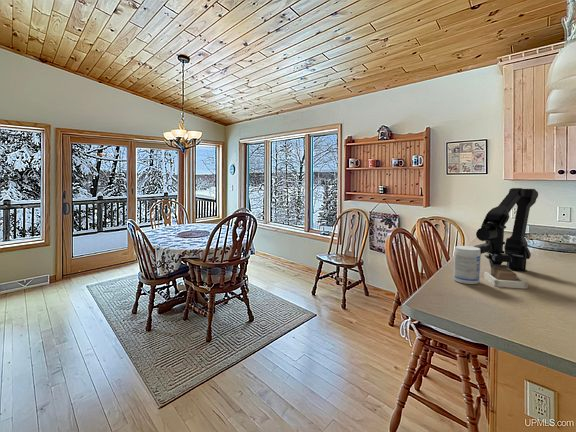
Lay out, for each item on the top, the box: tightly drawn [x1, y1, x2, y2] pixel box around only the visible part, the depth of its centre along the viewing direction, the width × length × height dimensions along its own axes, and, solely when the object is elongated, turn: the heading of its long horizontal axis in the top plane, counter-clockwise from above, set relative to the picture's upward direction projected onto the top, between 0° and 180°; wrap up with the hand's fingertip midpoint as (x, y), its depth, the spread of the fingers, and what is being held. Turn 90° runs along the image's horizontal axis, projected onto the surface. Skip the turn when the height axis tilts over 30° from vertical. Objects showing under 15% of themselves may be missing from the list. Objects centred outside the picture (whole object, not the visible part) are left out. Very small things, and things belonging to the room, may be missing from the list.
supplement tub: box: [453, 245, 482, 285], centre depth 127 cm, size 10×10×15 cm
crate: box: [490, 264, 517, 281], centre depth 126 cm, size 9×6×7 cm, turn 164°
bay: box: [483, 271, 529, 290], centre depth 125 cm, size 12×11×2 cm
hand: (493, 272), depth 136 cm, fingers closed
